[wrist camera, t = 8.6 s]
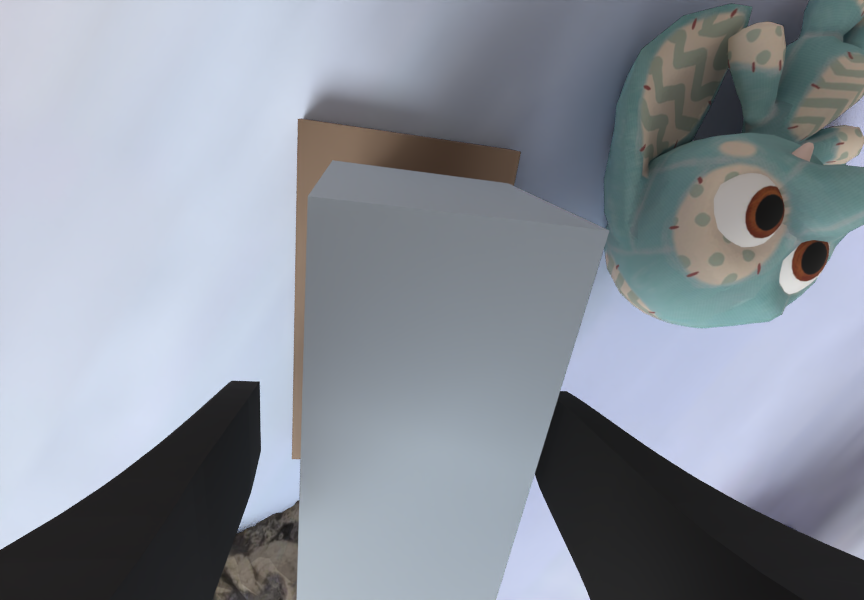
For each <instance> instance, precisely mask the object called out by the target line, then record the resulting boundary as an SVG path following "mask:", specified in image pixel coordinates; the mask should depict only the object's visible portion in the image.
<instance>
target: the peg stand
mask: <svg viewBox="0 0 864 600" xmlns="http://www.w3.org/2000/svg"><path fill="white" fill-rule="evenodd" d="M520 154H521V152H520V151H515V150H511V149H504V148H497V147H491V146H484V145H477V144H470V143H464V142H457V141H450V140H443V139H437V138H430V137H423V136H416V135H410V134H403V133H396V132H389V131H383V130H376V129H369V128H362V127H356V126H349V125H342V124H335V123H329V122H322V121H315V120H308V119H298V145H297V201H296V258H295V315H294V372H293V429H292V459H301V422H302V386H303V350H304V314H305V278H306V242H307V206H308V195H309V194H310V192H311V191H312V189H313V188H314V186H315V185H316V184H317V182H318V181H319V179H320V178H321V176H322V175H323V173H324V172H325V171H326V169H327V168H328V166H329V165H330V163H331V162H332V160H334V161H342V162H349V163H357V164H365V165H372V166H380V167H387V168H395V169H403V170H410V171H418V172H425V173H433V174H441V175H448V176H456V177H463V178H471V179H479V180H486V181H494V182H502V183H508V184H511V185H513V186H514V183H515V178H516V173H517V168H518V164H519V159H520Z"/></svg>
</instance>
